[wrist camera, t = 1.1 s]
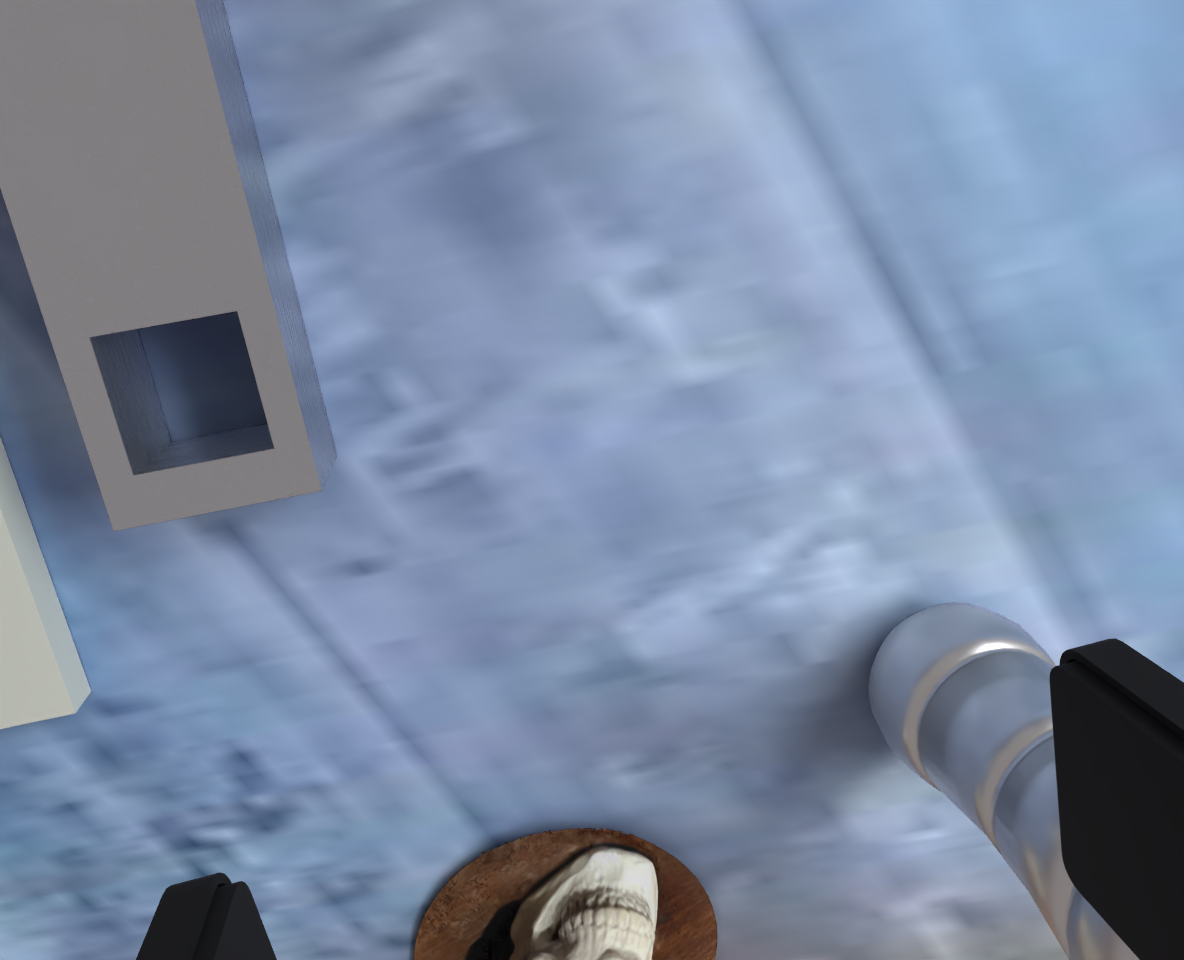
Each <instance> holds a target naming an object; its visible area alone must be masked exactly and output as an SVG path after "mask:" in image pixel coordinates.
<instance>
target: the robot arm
mask: <svg viewBox="0 0 1184 960" xmlns="http://www.w3.org/2000/svg"><path fill="white" fill-rule="evenodd" d="M1049 682H1050V696H1051V710H1052V724H1053V738H1054V752H1055V766H1056V780H1057V795H1058V809H1059V823H1060V837H1061V851H1062V859H1063V863H1064V866H1065V869H1066V872H1067V874H1068V876H1069V878H1070V880H1071V882H1072V883H1073V885H1074V886H1075V888H1076V889H1077V890H1078V892H1079V893H1080V894H1081V895H1082V896H1083V897H1084V898H1085V899H1086V900H1087V902H1088V903H1089V904H1090V905H1091V906H1092V907H1093V908H1094V909H1095V911H1096V912H1097V913H1098V914H1099V915H1100V916H1101V917H1102V918H1103V919H1104V921H1105V922H1106V923H1107V924H1108V925H1109V926H1110V927H1111V928H1112V930H1113V931H1114V932H1115V933H1116V934H1117V935H1118V936H1119V937H1120V938H1121V940H1122V941H1123V942H1124V943H1125V944H1126V945H1127V946H1128V947H1129V948H1130V950H1131V951H1132V952H1133V953H1134V954H1135V955H1136V956H1137V957H1138V959H1139V960H1184V683H1183V682H1182V681H1180V680H1179V679H1177V678H1176V677H1174V676H1173V675H1171V674H1170V673H1168V672H1167V671H1165V670H1164V669H1162V668H1161V667H1159V666H1158V665H1156V664H1155V663H1154V662H1152V661H1151V660H1149V659H1148V658H1146V657H1145V656H1143V655H1142V654H1140V653H1139V652H1137V651H1136V650H1134V649H1133V648H1131V647H1130V646H1128V645H1127V644H1125V643H1124V642H1122V641H1120V640H1117V639H1107V640H1103V641H1099V642H1096V643H1092V644H1088V645H1084V646H1080V647H1076V648H1073V649H1069V650H1066V651H1065V652H1064V653H1062V656H1061V659H1060V665H1059V666H1055V667H1053V668H1052V669H1051V672H1050V679H1049ZM136 960H277V959H276V957H275V954H274V951H273V949H272V946H271V944H270V941H269V938H268V936H267V933H266V931H265V928H264V925H263V923H262V920H261V918H260V915H259V912H258V910H257V907H256V905H255V902H254V899H253V897H252V894H251V892H250V890H249V887H248V886H247V885H246V883H245V882H242V881H240V882H236V883H233V884H232V883H231V881H230V879H229V878H228V877H227V876H226V875H225V874H223V873H217V874H213V875H209V876H205V877H201V878H198V879H194V880H190V881H186V882H182V883H179V884H175V885H171V886H170V887H168V888H167V889H166V890H165V892H164V894H163V895H162V898H161V900H160V902H159V905H158V907H157V910H156V912H155V915H154V917H153V919H152V922H151V924H150V927H149V929H148V932H147V934H146V936H145V939H144V941H143V944H142V946H141V949H140V951H139V953H138V956H137V958H136Z"/></svg>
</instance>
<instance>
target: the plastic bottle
mask: <svg viewBox="0 0 1184 960" xmlns="http://www.w3.org/2000/svg"><path fill="white" fill-rule="evenodd" d="M1055 666H1056V665H1055V663H1054V662H1053V660H1052V659H1051V658H1050V656H1049V655H1048V654H1047V653H1046V651H1045V650H1044V649H1043V648H1042V647H1041V646H1040V645H1039V644H1038V643H1037V642H1036V641H1035V640H1034V639H1033V637H1032V636H1031V635H1030V634H1029V633H1027V632H1026V631H1025V630H1024V629H1023V628H1022V627H1021V626H1020V625H1019V624H1017V623H1015V622H1013V621H1011V620H1010V619H1008V618H1006V617H1004V616H1002V615H999V614H997V613H995V612H992V611H990V610H988V609H985V608H983V607H979V606H976V605H972V604H969V603H955V602H954V603H946V604H938V605H935V606H932V607H929V608H926V609H923V610H921V611H919V612H917V613H915V614H913V615H911V616H910V617H908V618H906V619H905V620H903V621H902V622H901V623H900V624H898V625H897V626H896V627H895V628H894V629H893V630H892V631H891V632H890V633H889V635H888V636H887V637H886V638H885V640H884V642H883V643H882V645H881V646H880V648H879V650H878V652H877V655H876V657H875V660H874V662H873V665H872V667H871V673H870V678H869V700H870V705H871V709H872V712H873V714H874V717H875V719H876V721H877V723H878V725H879V727H880V729H881V732H882V734H883V736H884V738H885V740H886V742H887V744H888V746H889V747H890V748H891V750H892V751H893V752H894V753H895V755H896V756H897V757H898V758H899V759H900V760H901V761H902V762H904V763H905V764H906V765H907V766H908V767H909V768H910V769H912V770H913V771H914V772H915V773H916V774H917V775H919V776H920V777H921V778H922V779H924V780H925V781H926V782H927V783H929V784H930V785H932V786H933V787H935V788H936V789H938V790H939V791H941V792H942V793H943V794H944V795H945V796H947V797H948V798H949V799H950V800H951V801H952V802H953V803H954V804H955V805H956V806H957V807H958V808H959V809H960V810H961V811H962V812H963V813H964V814H965V815H966V816H967V817H968V818H969V819H970V820H971V821H972V822H973V823H974V824H975V825H976V826H977V827H978V828H979V829H980V830H981V831H982V832H983V833H984V834H985V835H986V836H987V837H988V838H989V839H990V841H991V842H992V843H993V845H994V846H995V847H996V849H997V850H998V851H999V853H1000V854H1001V855H1002V856H1003V858H1004V860H1005V861H1006V862H1007V864H1008V865H1009V866H1010V868H1011V869H1012V870H1013V872H1014V873H1015V874H1016V876H1017V877H1018V878H1019V880H1020V881H1021V882H1022V884H1023V885H1024V886H1025V888H1026V889H1027V890H1028V892H1029V893H1030V895H1031V896H1032V898H1033V900H1034V901H1035V903H1036V905H1037V907H1038V908H1039V910H1040V912H1041V913H1042V915H1043V917H1044V918H1045V920H1046V922H1047V923H1048V925H1049V927H1050V928H1051V930H1052V932H1053V933H1054V935H1055V937H1056V938H1057V940H1058V942H1059V943H1060V945H1061V947H1062V948H1063V950H1064V952H1065V953H1066V955H1067V957H1068V958H1069V960H1139V959H1138V957H1137V956H1136V955H1135V954H1134V953H1133V952H1132V951H1131V950H1130V948H1129V947H1128V946H1127V945H1126V944H1125V943H1124V942H1123V941H1122V940H1121V938H1120V937H1119V936H1118V935H1117V934H1116V933H1115V932H1114V931H1113V930H1112V928H1111V927H1110V926H1109V925H1108V924H1107V923H1106V922H1105V921H1104V919H1103V918H1102V917H1101V916H1100V915H1099V914H1098V913H1097V912H1096V911H1095V909H1094V908H1093V907H1092V906H1091V905H1090V904H1089V903H1088V902H1087V900H1086V899H1085V898H1084V897H1083V896H1082V895H1081V894H1080V893H1079V892H1078V890H1077V889H1076V888H1075V886H1074V885H1073V883H1072V882H1071V880H1070V878H1069V876H1068V874H1067V872H1066V869H1065V866H1064V863H1063V859H1062V851H1061V837H1060V823H1059V809H1058V795H1057V780H1056V766H1055V752H1054V738H1053V724H1052V710H1051V696H1050V682H1049V679H1050V672H1051V669H1052V668H1053V667H1055Z"/></svg>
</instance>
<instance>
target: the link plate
mask: <svg viewBox="0 0 1184 960" xmlns="http://www.w3.org/2000/svg"><path fill="white" fill-rule="evenodd" d="M0 189H1V192H2V195H3V198H4V201H5V204H6V207H7V210H8V213H9V216H10V219H11V222H12V225H13V228H14V231H15V234H16V237H17V240H18V243H19V246H20V249H21V252H22V255H23V258H24V261H25V264H26V267H27V270H28V273H29V276H30V279H31V282H32V285H33V288H34V291H35V294H36V298H37V301H38V304H39V307H40V310H41V313H42V316H43V319H44V322H45V325H46V328H47V331H48V334H49V337H50V340H51V343H52V346H53V349H54V352H55V355H56V358H57V361H58V364H59V367H60V370H61V373H62V376H63V379H64V382H65V385H66V388H67V391H68V394H69V397H70V400H71V403H72V406H73V409H74V413H75V416H76V419H77V422H78V425H79V428H80V431H81V434H82V437H83V440H84V443H85V446H86V449H87V452H88V455H89V458H90V461H91V464H92V467H93V470H94V473H95V476H96V479H97V482H98V485H99V488H100V491H101V494H102V497H103V500H104V503H105V506H106V509H107V512H108V515H109V518H110V521H111V524H112V528H113V531H117V530H123V529H128V528H133V527H138V526H143V525H148V524H153V523H159V522H164V521H169V520H174V519H179V518H184V517H189V516H195V515H200V514H205V513H210V512H215V511H220V510H225V509H231V508H236V507H241V506H246V505H251V504H256V503H261V502H266V501H272V500H277V499H282V498H287V497H292V496H297V495H302V494H308V493H313V492H318V491H322V489H323V487H324V484H325V482H326V480H327V478H328V475H329V473H330V471H331V469H332V466H333V464H334V462H335V459H336V457H337V455H336V451H335V447H334V443H333V439H332V435H331V431H330V427H329V423H328V419H327V415H326V411H325V407H324V403H323V399H322V395H321V391H320V387H319V383H318V379H317V375H316V371H315V367H314V363H313V359H312V355H311V351H310V347H309V343H308V339H307V335H306V331H305V327H304V323H303V319H302V315H301V311H300V307H299V303H298V300H297V296H296V292H295V288H294V284H293V280H292V276H291V272H290V268H289V264H288V260H287V256H286V252H285V248H284V244H283V240H282V236H281V232H280V228H279V224H278V220H277V216H276V212H275V208H274V204H273V200H272V196H271V192H270V188H269V184H268V180H267V176H266V172H265V168H264V164H263V160H262V156H261V152H260V148H259V144H258V140H257V136H256V132H255V128H254V124H253V120H252V116H251V113H250V109H249V105H248V101H247V97H246V93H245V89H244V85H243V81H242V77H241V73H240V69H239V65H238V61H237V57H236V53H235V49H234V45H233V41H232V37H231V33H230V29H229V25H228V21H227V17H226V13H225V9H224V5H223V1H222V0H0ZM234 311H237V312H238V316H239V320H240V323H241V327H242V331H243V335H244V338H245V342H246V346H247V349H248V353H249V357H250V360H251V364H252V368H253V371H254V375H255V379H256V383H257V386H258V390H259V394H260V397H261V401H262V405H263V408H264V412H265V416H266V420H267V423H268V424H264V425H259V426H254V427H248V428H243V429H238V430H232V431H227V432H222V433H216V434H211V435H206V436H200V437H195V438H190V439H184V440H179V441H174V442H171V439H170V435H169V432H168V429H167V425H166V422H165V419H164V415H163V412H162V409H161V405H160V402H159V399H158V396H157V392H156V389H155V386H154V382H153V379H152V376H151V372H150V369H149V366H148V363H147V359H146V356H145V353H144V349H143V346H142V343H141V339H140V336H139V333H138V329H139V328H145V327H150V326H156V325H161V324H167V323H173V322H178V321H184V320H190V319H195V318H201V317H206V316H212V315H218V314H223V313H229V312H234Z"/></svg>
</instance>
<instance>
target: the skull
mask: <svg viewBox="0 0 1184 960" xmlns="http://www.w3.org/2000/svg"><path fill="white" fill-rule="evenodd" d="M542 840H543V841H542ZM505 843H507V844H505V845H501V846H500V847H498V848H495V849H494V850H492V849H491V851H490V852H487V853H485V854H484V852H485V851H482V852H481V853H483V854H484V855H480V856H479V857H478V858H477V860H475V861H472V862H470V863H469V864H468V865H467V866H466V867H463V869H462V870H461V871H459V872H458V873H457V874H456V875H454V876H455V877H450V878H449V880H450V881H449V882H448V883H447V884H446V885H445V886H444V887H443V889H442V890H441V891H440V892H439V894H437V896H436V898H435V899H434V901H432V903H431V906H430V907H429V908H428V910H427V911H426V913H425V915H424V917H423V919H422V922H421V925H420V927H419V931H418V933H417V938H416V944H415V950H414V960H714V959H715V956H716V948H717V925H716V924H717V923H716V919H715V914H714V911H713V907H712V905H711V903H710V900H709V897H708V895H707V894H706V892H705V890H704V888H703V887H702V885H701V884H700V882H699V880H698V879H697V878H696V876H694V875H693V874H692V873H691V872H690V870H689V869H688V868H687V867H686V866H685V865H683V864H682V863H681V862H680V861H679V860H678V859H677V858H675V857H674V856H672V855H671V854H669V853H668V852H666V851H665V850H663V849H661V848H659V847H657V846H656V845H654V844H652V843H650V842H647V841H646V840H643V839H641V838H638V837H636V836H634V835H632V834H629V835H627V834H623V833H621V832H620V831H613V830H609V829H602V828H601V829H599V830H596V829H591V828H583V829H580V828H578V829H565V830H560V831H553V832H551V831H548V832H546V831H544V832H543V833H540V834H536V835H535V834H533V835H532V834H531V835H528V837H525V836H524V837H523V838H518V839H517V840H515V841H514V842H505ZM439 921H440V922H439ZM711 933H712V934H711ZM432 953H433V954H432Z"/></svg>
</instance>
